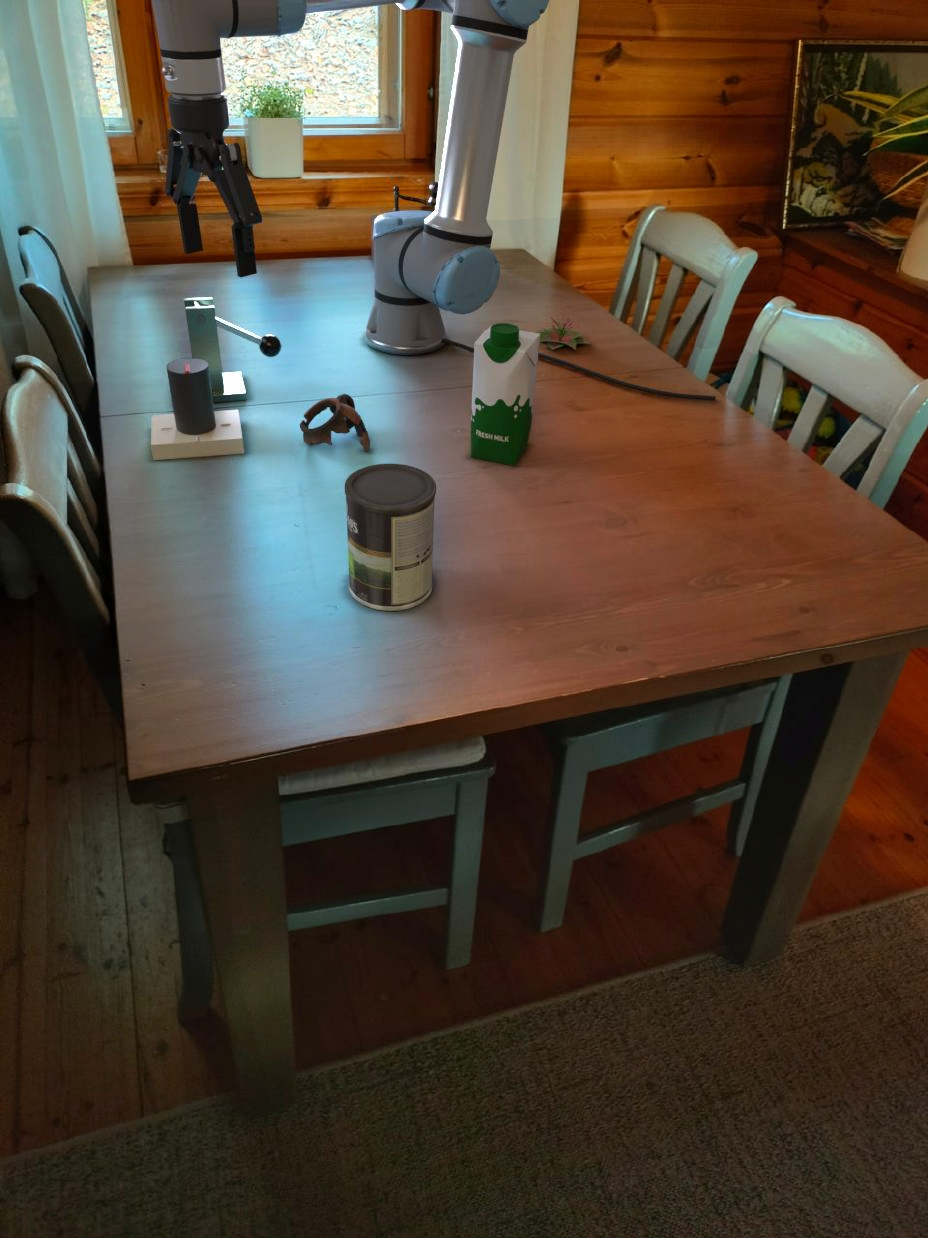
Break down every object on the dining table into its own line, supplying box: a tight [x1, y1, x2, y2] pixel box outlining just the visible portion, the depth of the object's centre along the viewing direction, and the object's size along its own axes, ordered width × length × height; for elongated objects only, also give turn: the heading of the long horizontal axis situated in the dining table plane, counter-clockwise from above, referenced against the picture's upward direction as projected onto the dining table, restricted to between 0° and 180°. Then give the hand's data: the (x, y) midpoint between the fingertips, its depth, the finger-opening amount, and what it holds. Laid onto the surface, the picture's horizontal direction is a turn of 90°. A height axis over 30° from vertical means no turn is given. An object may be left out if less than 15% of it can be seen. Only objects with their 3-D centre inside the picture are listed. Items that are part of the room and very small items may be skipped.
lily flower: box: [534, 315, 592, 351], centre depth 176 cm, size 12×12×5 cm
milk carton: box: [470, 322, 540, 467], centre depth 134 cm, size 9×9×20 cm
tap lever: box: [192, 302, 282, 358], centre depth 148 cm, size 15×4×4 cm, turn 108°
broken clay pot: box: [299, 393, 371, 453], centre depth 139 cm, size 12×10×8 cm
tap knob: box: [166, 357, 216, 435], centre depth 134 cm, size 6×6×10 cm
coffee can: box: [344, 463, 437, 612], centre depth 106 cm, size 10×10×14 cm
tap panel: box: [150, 409, 245, 461], centre depth 137 cm, size 13×10×3 cm
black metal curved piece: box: [370, 181, 439, 262], centre depth 208 cm, size 16×11×18 cm
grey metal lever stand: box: [183, 296, 248, 403], centre depth 148 cm, size 11×9×15 cm
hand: (219, 263), depth 131 cm, fingers open, 13 cm apart
